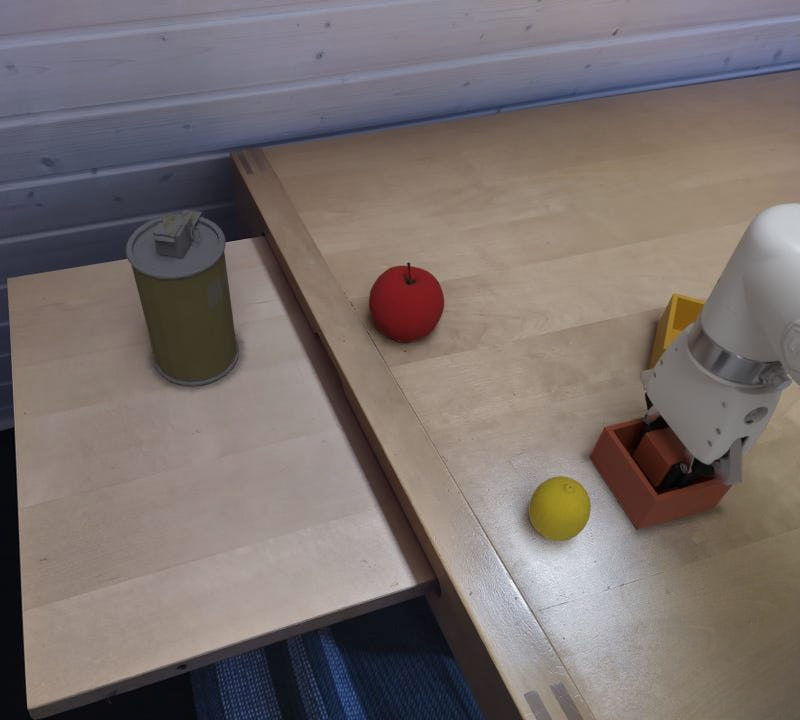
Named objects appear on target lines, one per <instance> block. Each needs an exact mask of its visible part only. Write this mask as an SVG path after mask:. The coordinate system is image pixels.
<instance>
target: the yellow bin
mask: <svg viewBox="0 0 800 720" xmlns="http://www.w3.org/2000/svg"><path fill="white" fill-rule="evenodd" d="M706 301H707V300H706ZM706 301H705V300H701V299H698V298H695V297H690V296H687V295H683V294H679V293H676V292H673V293H672V295H671V297H670V299H669V301H668V303H667V305H666V307H665V309H664V311H663V313H662V314H661V317H660V319H659V322H658V323H657V324H656V325H657V326H656V330H655V336H654V341H653V345H652V352H651V356H650V361H649V365H648V366H649V367H648V369H652V368H654V367H655V365H656V363H657V362H658V360H659V359H660V357H661V356H662V354H663V353H664V352H665V350H666V349H667V348H668V346H669V345H670V344H671V343H672V341H673V340H674V339H675V338H676V337H677V336H678V335H679V334H680V333H681V332H682V331H683V330H684V329H685V328H686V327H687V326H688V325H690V324H691V323H693V322H695V321H696V319H697V317H698V316H699V314H700V312H701V310H702V308H703V306H704V305H705V303H706Z"/></svg>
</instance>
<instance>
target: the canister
mask: <svg viewBox="0 0 800 720" xmlns="http://www.w3.org/2000/svg"><path fill="white" fill-rule="evenodd" d="M225 236H226V235H225V234H224V232H223V230H222V228H221V227H219V225H217V224H216V223H215V222H213V221H211V220H210V219H208V218H207V217H206V218H205V217H204V212H202V211H196V210H190V209H184V210H183V212H182V213H180V214H179V213H177V214H166V213H163V214H162V215H161V216H160V217H158V218H154V219H151V220H149V221H147V222H146V223H144V224H143V225H141V226H139V227H138V228H137V229H135V230H134V232H133V233H132V234H131V235H130V236H129V238H128V239H127V242H126V247H125V255H126V259H127V261H128V262H129V264H130V265H131V269H132V273H133V277H134V281H135V285H136V288H137V289H136V290H137V293H138V297H139V301H140V305H141V309H142V312H143V317H144V321H145V325H146V328H147V332H148V336H149V340H150V345H151V349H152V352H153V362H154V366H155V368H156V370H157V372H158V373H159V374H160V375H161V377H163V378H164V379H166V380H167V381H169V382H171V383H174V384H176V385H180V386H188V387H196V386H197V387H198V386H199V387H200V386H204V385H209V384H211V383H214V382H216V381H218V380H221V379H222V378H223V377H225V376H226V375H228V374H229V372H231V371H232V369H233V368H234V367H235V365H236V363H237V361H238V359H239V355H240V346H239V342H238V340H237V338H236V331H235V324H234V316H233V309H232V308H233V307H232V299H231V293H230V283H229V277H228V269H227V262H226V254H225V251H226V250H225V249H226V242H227V241H226V237H225Z"/></svg>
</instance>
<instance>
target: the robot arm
mask: <svg viewBox="0 0 800 720" xmlns="http://www.w3.org/2000/svg"><path fill="white" fill-rule="evenodd" d="M639 376H640V379H641V382H642V385H643V389H644V391H645V393H644V399H645V406H646V412H645V413H644V414H643V417H644V421H645V423H646V425H645V426H644V428H643V430H642V432H641V433H640V437H639V439H638V441H637V442H636V444H635V446H634V449H635V450H636V449H637V447H638V445H639V443H640V442H641V440H642V438H643V436H644V435H645V433H647V432H651V431H655V430H659V429H663V428H666V427H671V429H672V430H673V431H674V433H675V434H676V435H677V436H678V438H679V439H680V440H681V442H682V443H683V444H684V445H685V447H686V449H685V452H684V454H683V457H682V460H681V462H678V463H675V464H674V465H673V466H672V467H671V469H670V470H669V472H668V474H667V475H666V477H665V478H664V480H663V481H662V483H661V487H662V488H663V490H667V489H671V488H674V487H677V488H678V489H681V488H685V487H688V486H690V485H692V484H693V482H694V481H695V479H696V478H697V477H698V475H701V476H705V477H710V476H711V477H713V478H714V480H716V481H718V482H720V483H722V484H724V485H726V486H729V485H732V486H733V485H736V484H739V483H741V482H742V480H743V478H742V477H743V472H742V471H743V456H745V455H747V454H748V453H750V451H751V450H752V449H753V448H754V446H755V444H756V443H757V442H758V440H759V439H760V437H761V435H762V434H763V432H764V431H765V430H766V428H767V426H768V424H769V422H770V420H771V418H772V416H774V415H773V414H774V413H775V411H776V408H777V406H778V403H779V401H780V398H781V396H782V392H783V391H784V390H786V389H787V388H789V387H790V386H791V385H792V384H793V381H794V382H795V383H796V384H797V385H798V386H799V387H800V203H797V202H790V203H781V204H780V203H779V204H775V205H771V206H770V207H767V208H765V209H764V210H762V211H760V212H759V213H758V214H757V215H756V216H755V217H754V218H752V220H751V221H750V223H749V224H748V226H747V227H746V229H745V230H744V232H743V234H742V236H741V238H740V240H739V242H738V243H737V245H736V246H735V249H734V251H733V252H732V254H731V256H730V257H729V260H728V261H727V263H726V264H725V266H724V268H723V271H722V272H721V274H720V275H719V278H718V279H717V281H716V283H715V285H714V286H713V288H712V290H711V292H710V294H709V296H708V297H707V299H706V303H705V305H704V306H703V308H702V310H701V312H700V314H699V316H698V317H697V319H696V321H695V322H693V323H691V324H690V325H688V326H687V327H686V328H685V329H684V330H683V331H682V332H681V333H680V334H679V335H678V336H677V337H676V338H675V339H674V340H673V341H672V343H671V344H670V345H669V346H668V348H667V349H666V350H665V352H664V353H663V354H662V356H661V357H660V359H659V360H658V362H657V363H656V365H655V367H654V368H652V369H649V368H648V369H645V370H642V371H640V374H639ZM719 458H720V460H717V459H719Z"/></svg>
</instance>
